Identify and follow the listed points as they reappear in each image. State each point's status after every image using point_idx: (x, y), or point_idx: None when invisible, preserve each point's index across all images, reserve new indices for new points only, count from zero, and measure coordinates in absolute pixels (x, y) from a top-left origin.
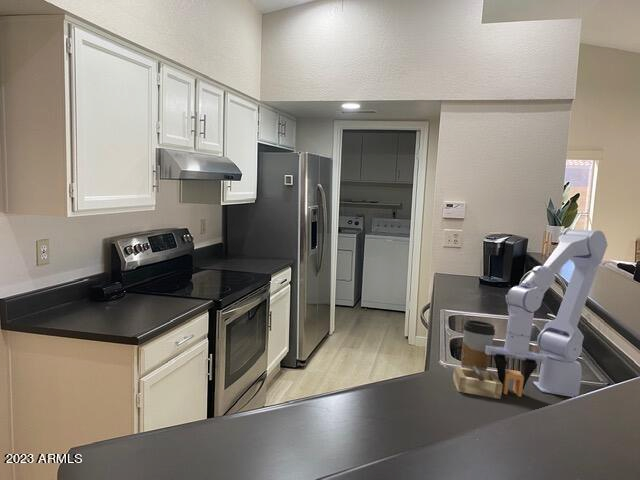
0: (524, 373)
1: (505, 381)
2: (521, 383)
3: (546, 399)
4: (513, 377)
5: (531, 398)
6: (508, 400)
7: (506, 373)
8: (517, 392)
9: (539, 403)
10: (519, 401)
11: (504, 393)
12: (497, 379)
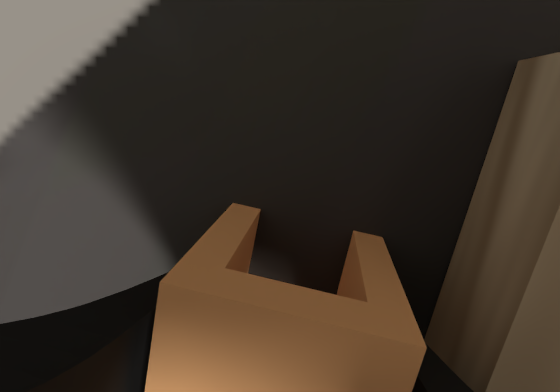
0: (113, 366)
1: (403, 292)
2: (214, 249)
3: (15, 201)
4: (314, 304)
5: (148, 186)
6: (439, 46)
7: (407, 380)
8: (251, 244)
9: (126, 67)
10: (320, 56)
11: (377, 237)
12: (553, 277)
